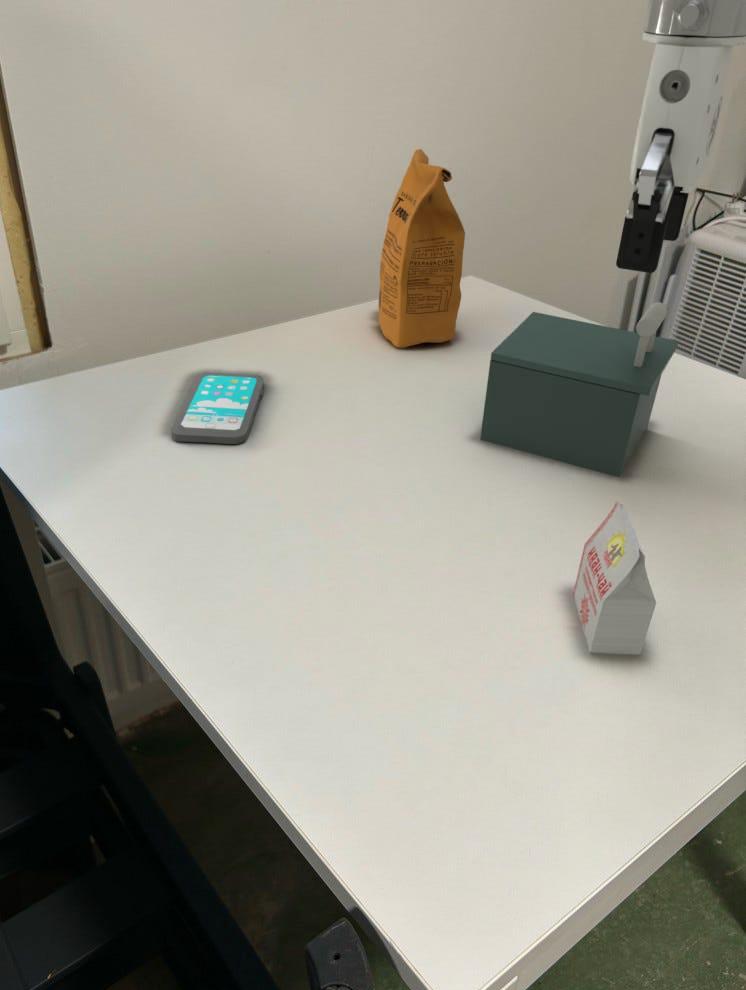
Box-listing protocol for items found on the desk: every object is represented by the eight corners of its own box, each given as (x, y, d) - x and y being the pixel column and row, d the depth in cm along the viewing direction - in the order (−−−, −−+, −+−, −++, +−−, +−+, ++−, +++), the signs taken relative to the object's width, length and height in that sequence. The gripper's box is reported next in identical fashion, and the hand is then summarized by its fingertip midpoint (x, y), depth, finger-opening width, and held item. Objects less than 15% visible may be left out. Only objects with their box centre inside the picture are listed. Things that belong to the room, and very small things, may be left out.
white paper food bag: (616, 603, 67) (645, 501, 61) (637, 663, 62) (670, 557, 56) (571, 602, 67) (595, 499, 61) (587, 661, 62) (615, 555, 56)
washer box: (646, 431, 90) (668, 346, 84) (617, 484, 81) (639, 394, 76) (519, 399, 96) (532, 318, 90) (479, 447, 87) (490, 360, 81)
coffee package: (439, 313, 117) (453, 145, 104) (462, 348, 108) (481, 168, 94) (370, 316, 116) (376, 146, 103) (387, 352, 106) (396, 170, 93)
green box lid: (677, 348, 84) (691, 294, 81) (648, 396, 75) (663, 338, 72) (532, 318, 90) (540, 267, 87) (490, 360, 81) (497, 304, 78)
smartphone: (165, 432, 86) (195, 370, 98) (166, 440, 87) (196, 378, 99) (246, 436, 86) (267, 374, 98) (247, 444, 87) (267, 381, 99)
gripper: (738, 30, 53) (674, 291, 63) (765, 12, 65) (708, 233, 76) (621, 25, 56) (578, 276, 66) (668, 9, 68) (626, 222, 78)
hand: (647, 253), depth 71 cm, fingers open, 9 cm apart
